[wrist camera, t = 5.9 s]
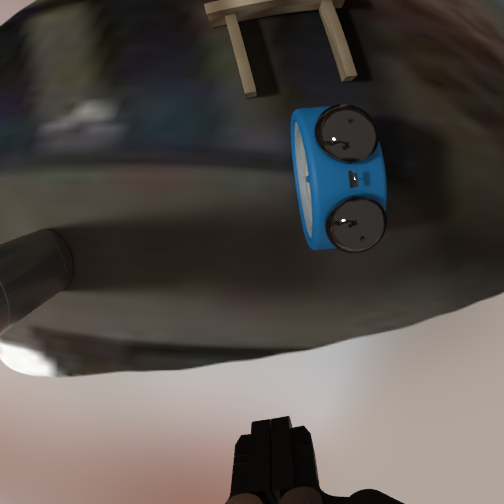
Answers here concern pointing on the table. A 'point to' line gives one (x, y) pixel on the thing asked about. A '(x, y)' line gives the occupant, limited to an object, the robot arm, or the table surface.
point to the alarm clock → (339, 177)
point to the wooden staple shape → (272, 3)
